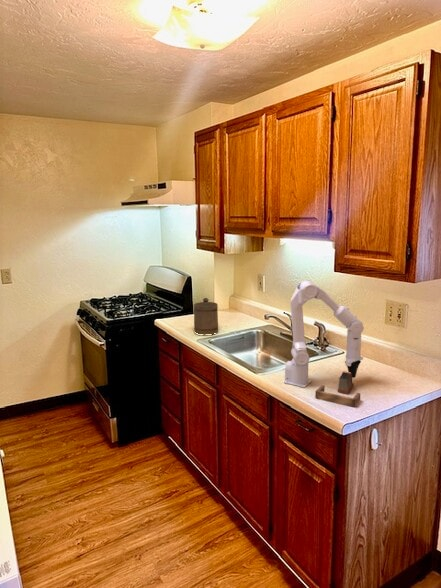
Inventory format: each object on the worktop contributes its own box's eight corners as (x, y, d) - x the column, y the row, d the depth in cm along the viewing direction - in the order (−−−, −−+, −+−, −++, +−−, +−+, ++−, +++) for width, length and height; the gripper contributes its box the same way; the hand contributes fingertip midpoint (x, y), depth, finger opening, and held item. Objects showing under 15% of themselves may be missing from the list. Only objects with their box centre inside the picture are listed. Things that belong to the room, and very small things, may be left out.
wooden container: (222, 331, 257) (221, 297, 253) (210, 337, 245) (209, 301, 240) (202, 328, 264) (201, 295, 260) (189, 334, 252) (188, 299, 248)
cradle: (315, 398, 160) (315, 391, 160) (321, 391, 166) (321, 384, 166) (355, 407, 152) (355, 400, 151) (360, 400, 158) (360, 393, 157)
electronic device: (354, 386, 171) (355, 369, 170) (348, 395, 163) (348, 377, 162) (344, 384, 173) (344, 367, 172) (337, 392, 165) (337, 375, 164)
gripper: (358, 352, 164) (357, 384, 166) (367, 343, 176) (366, 373, 178) (341, 350, 168) (339, 381, 170) (351, 340, 180) (350, 370, 182)
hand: (352, 376), depth 175 cm, fingers closed
